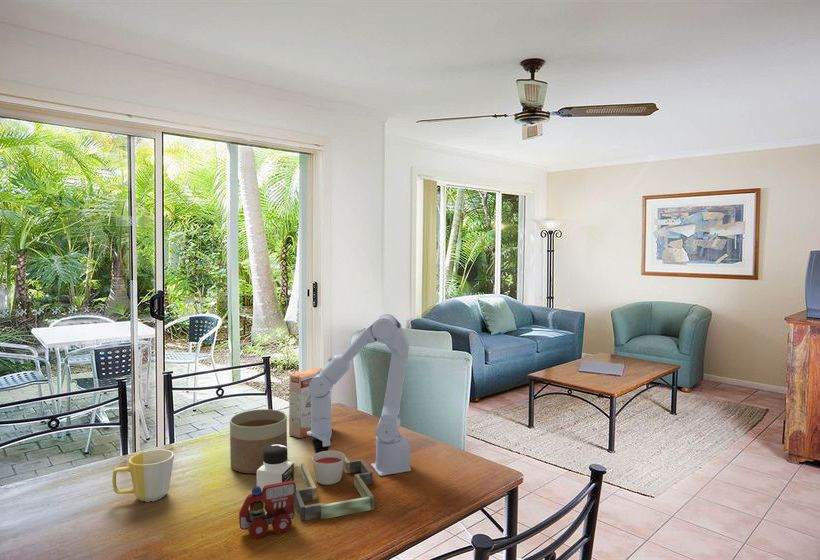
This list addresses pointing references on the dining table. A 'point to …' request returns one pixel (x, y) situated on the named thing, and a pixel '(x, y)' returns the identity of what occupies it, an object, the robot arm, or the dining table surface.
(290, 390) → the cracker box
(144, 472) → the mug
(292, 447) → the dining table surface
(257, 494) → the toy fire truck
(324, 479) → the candle
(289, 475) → the medicine bottle
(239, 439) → the planter
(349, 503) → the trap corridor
